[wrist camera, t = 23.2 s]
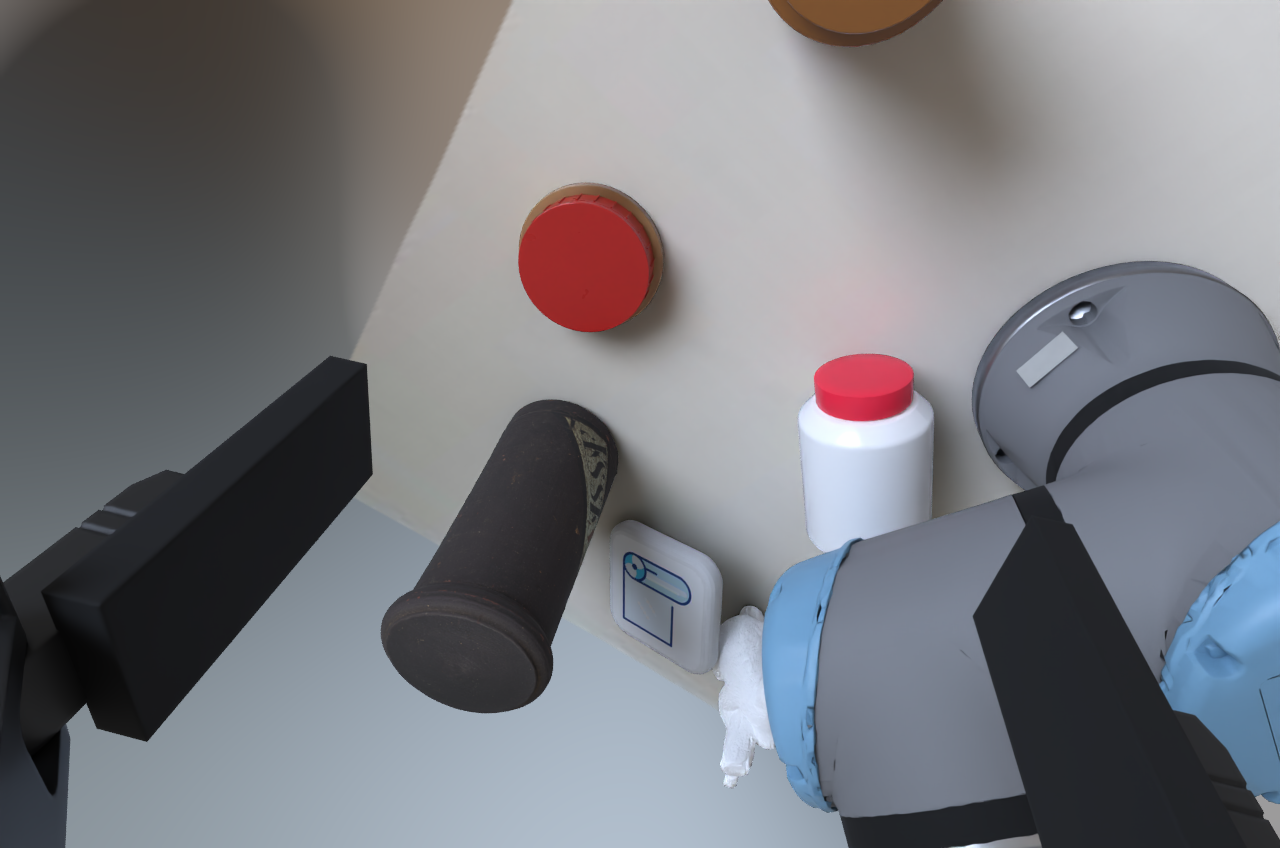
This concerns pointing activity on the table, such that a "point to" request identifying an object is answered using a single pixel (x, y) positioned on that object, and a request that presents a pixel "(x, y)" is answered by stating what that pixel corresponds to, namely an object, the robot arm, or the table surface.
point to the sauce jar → (852, 19)
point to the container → (506, 565)
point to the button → (666, 595)
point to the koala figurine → (742, 693)
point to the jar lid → (586, 263)
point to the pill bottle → (865, 450)
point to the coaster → (621, 200)
